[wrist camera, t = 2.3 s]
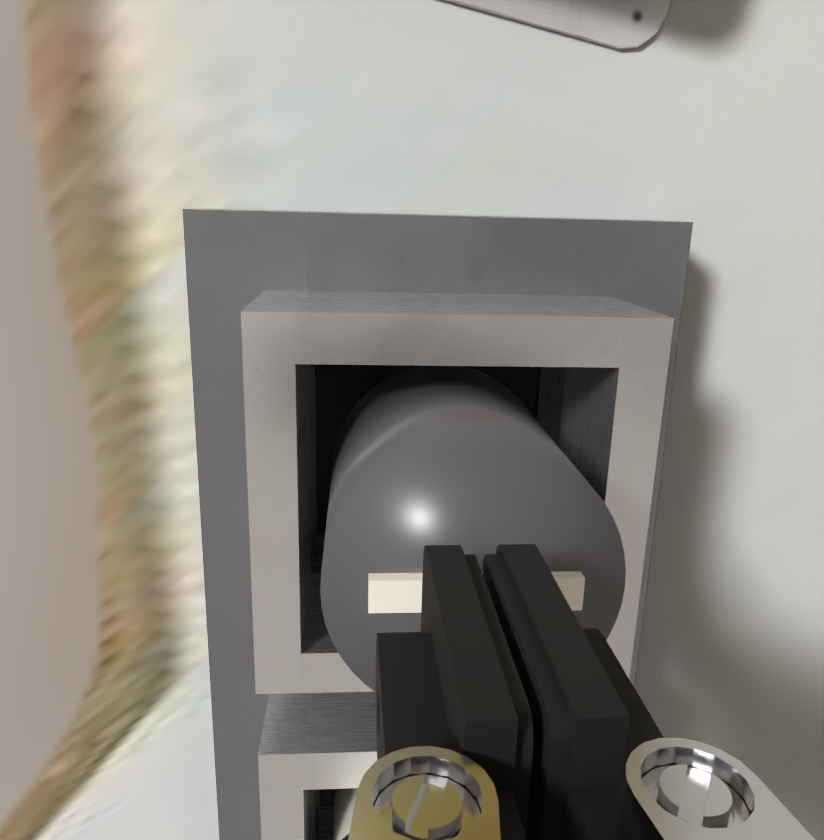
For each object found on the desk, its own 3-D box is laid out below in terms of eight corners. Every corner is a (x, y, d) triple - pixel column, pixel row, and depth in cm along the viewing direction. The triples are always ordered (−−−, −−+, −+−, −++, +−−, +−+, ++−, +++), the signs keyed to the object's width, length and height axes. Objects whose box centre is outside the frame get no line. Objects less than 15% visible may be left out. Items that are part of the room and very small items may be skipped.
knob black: (549, 365, 18) (647, 447, 12) (534, 562, 19) (614, 724, 13) (332, 363, 17) (317, 446, 11) (333, 563, 19) (320, 732, 13)
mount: (652, 220, 20) (776, 225, 14) (581, 862, 26) (646, 1054, 20) (204, 209, 19) (134, 209, 13) (238, 875, 25) (201, 1081, 19)
